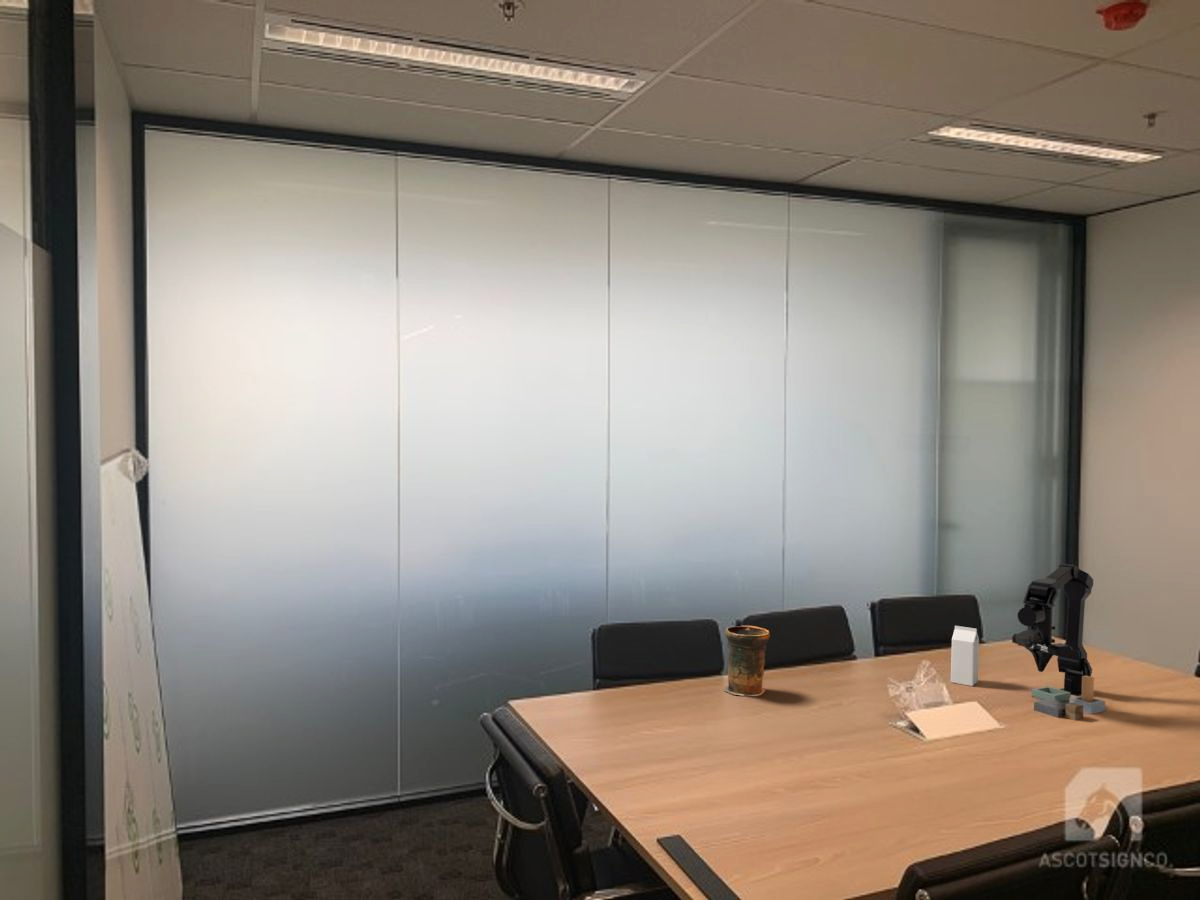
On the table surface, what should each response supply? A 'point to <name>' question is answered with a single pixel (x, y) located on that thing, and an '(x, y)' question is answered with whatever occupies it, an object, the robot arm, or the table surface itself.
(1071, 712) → the block
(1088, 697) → the dowel
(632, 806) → the table surface
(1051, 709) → the grey slab
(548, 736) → the table surface
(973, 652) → the milk carton
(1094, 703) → the socket block
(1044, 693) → the tray
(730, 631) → the vessel
